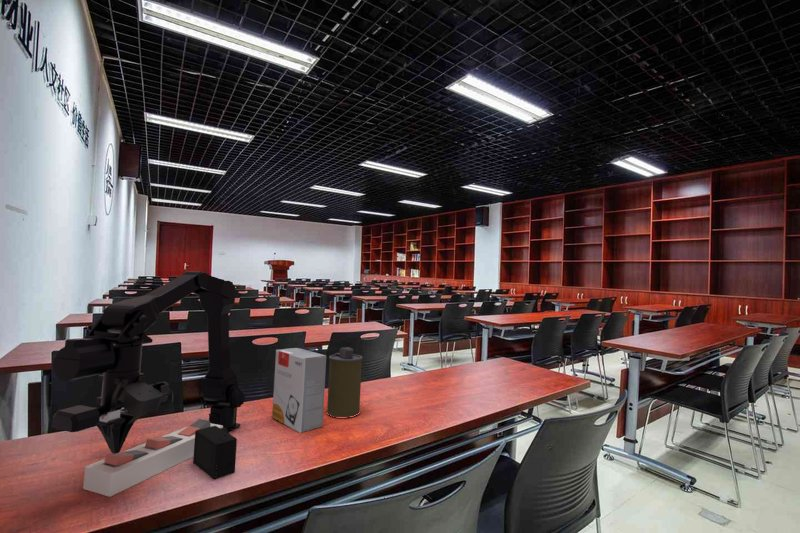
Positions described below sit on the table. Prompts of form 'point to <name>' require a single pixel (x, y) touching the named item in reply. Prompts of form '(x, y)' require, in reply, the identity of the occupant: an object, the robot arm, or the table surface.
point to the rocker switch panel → (138, 466)
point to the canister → (344, 383)
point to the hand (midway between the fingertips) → (115, 452)
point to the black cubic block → (215, 451)
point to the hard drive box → (299, 388)
